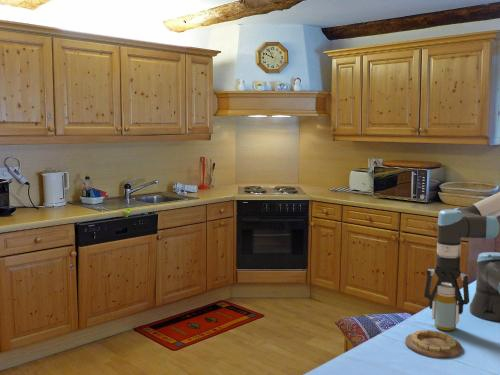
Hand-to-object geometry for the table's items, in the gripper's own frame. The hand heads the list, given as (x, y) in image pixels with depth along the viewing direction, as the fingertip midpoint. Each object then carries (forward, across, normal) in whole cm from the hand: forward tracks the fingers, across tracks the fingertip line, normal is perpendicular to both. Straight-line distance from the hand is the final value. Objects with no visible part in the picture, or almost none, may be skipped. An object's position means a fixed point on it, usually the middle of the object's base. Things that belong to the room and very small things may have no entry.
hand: (445, 320), depth 182 cm
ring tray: (+3, 0, -17) cm, 17 cm away
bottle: (+3, 0, 0) cm, 3 cm away
